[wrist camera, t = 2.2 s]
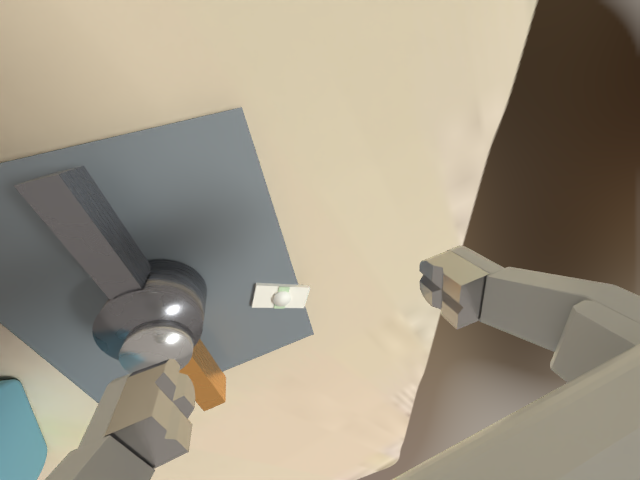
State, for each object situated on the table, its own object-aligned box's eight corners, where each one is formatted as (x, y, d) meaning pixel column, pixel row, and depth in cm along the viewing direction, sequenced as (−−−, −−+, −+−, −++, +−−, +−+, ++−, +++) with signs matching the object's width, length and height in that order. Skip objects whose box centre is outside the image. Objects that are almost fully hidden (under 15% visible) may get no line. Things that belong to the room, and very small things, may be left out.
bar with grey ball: (19, 180, 14) (-73, 209, 10) (132, 152, 15) (95, 167, 11) (185, 381, 24) (175, 439, 20) (246, 356, 25) (250, 406, 21)
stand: (-117, 190, 14) (-172, 202, 12) (254, 104, 17) (257, 103, 16) (120, 400, 25) (111, 423, 23) (318, 320, 28) (324, 335, 27)
